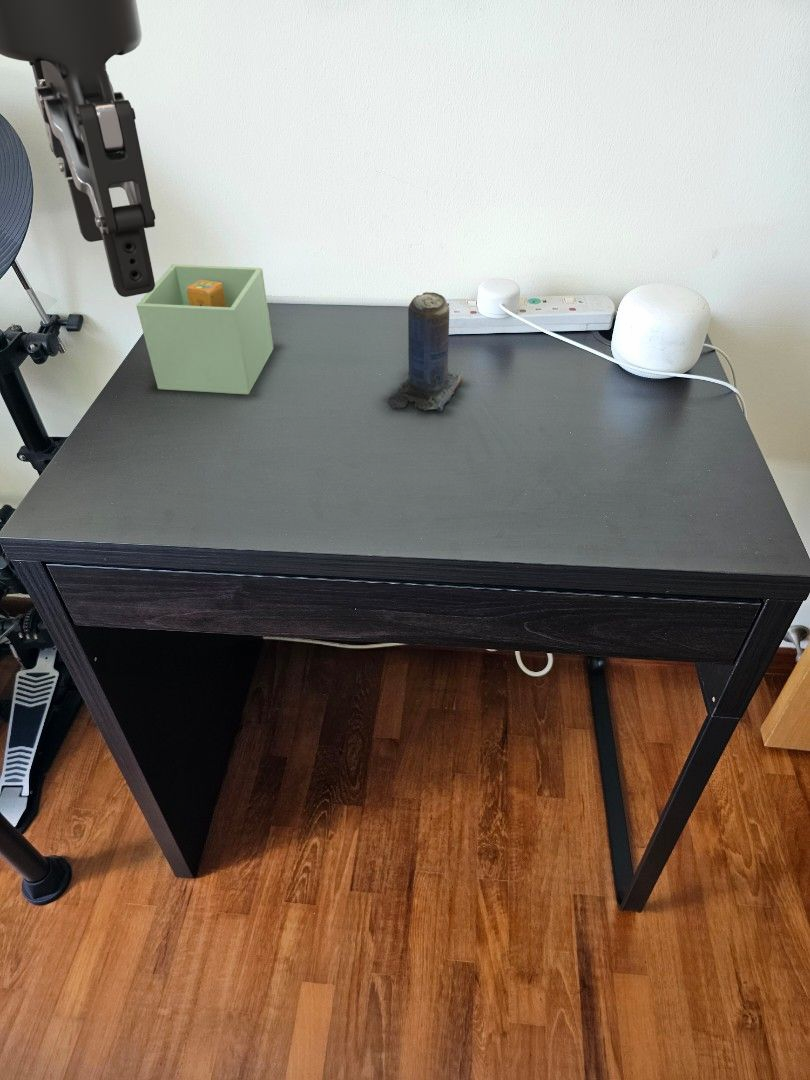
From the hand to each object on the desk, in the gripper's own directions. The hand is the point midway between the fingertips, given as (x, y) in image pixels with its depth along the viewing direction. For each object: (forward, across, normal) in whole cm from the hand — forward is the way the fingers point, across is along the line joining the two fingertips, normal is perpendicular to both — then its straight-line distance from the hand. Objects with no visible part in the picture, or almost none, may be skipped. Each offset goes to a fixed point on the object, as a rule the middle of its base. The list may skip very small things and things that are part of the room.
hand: (117, 264), depth 49 cm
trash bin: (+30, -36, +15) cm, 49 cm away
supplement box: (+30, -36, +15) cm, 49 cm away
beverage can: (+29, -18, +34) cm, 48 cm away
